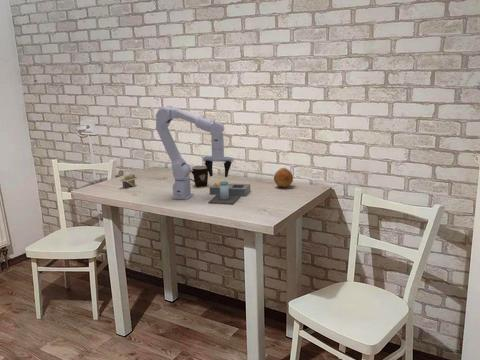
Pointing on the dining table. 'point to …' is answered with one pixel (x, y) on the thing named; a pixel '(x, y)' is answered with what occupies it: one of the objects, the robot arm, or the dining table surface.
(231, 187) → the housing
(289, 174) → the onion
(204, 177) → the coffee mug
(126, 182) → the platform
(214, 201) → the mat
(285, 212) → the dining table surface
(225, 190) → the cylinder
